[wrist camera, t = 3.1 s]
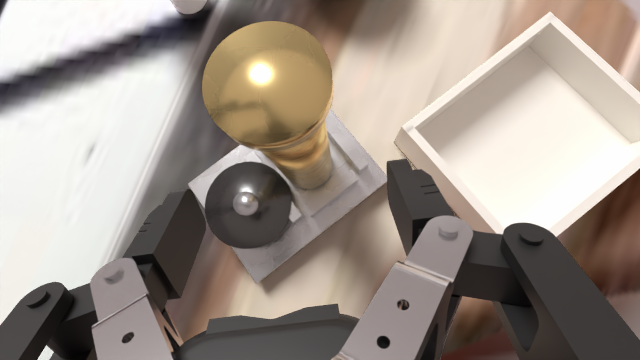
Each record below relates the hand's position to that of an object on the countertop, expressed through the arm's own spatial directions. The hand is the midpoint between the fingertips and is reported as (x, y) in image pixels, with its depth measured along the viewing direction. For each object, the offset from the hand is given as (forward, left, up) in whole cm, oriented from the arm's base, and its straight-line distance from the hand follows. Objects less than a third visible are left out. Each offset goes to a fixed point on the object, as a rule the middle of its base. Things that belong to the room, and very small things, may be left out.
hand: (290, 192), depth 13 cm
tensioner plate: (0, +3, -11) cm, 12 cm away
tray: (+15, -5, -11) cm, 19 cm away
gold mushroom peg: (+2, +3, -10) cm, 11 cm away
